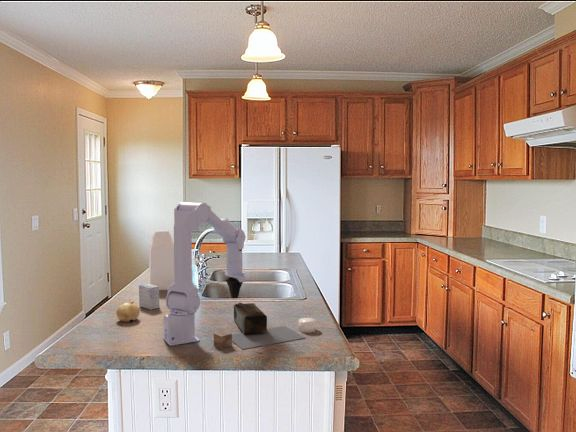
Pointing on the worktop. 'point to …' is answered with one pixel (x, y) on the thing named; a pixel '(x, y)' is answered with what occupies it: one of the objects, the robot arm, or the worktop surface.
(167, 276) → the milk
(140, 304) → the medicine box
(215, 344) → the walnut block
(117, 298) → the worktop surface
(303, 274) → the worktop surface
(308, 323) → the cream egg shape
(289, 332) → the mat
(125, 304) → the onion
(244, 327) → the beverage carton
